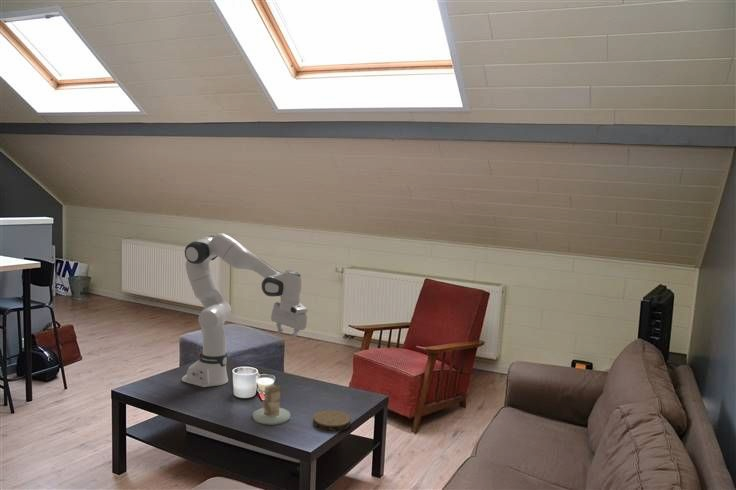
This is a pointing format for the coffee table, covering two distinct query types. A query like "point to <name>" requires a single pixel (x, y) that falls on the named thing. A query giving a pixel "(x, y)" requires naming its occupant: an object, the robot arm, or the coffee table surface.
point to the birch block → (272, 401)
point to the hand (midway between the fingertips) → (286, 335)
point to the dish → (264, 419)
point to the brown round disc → (331, 420)
